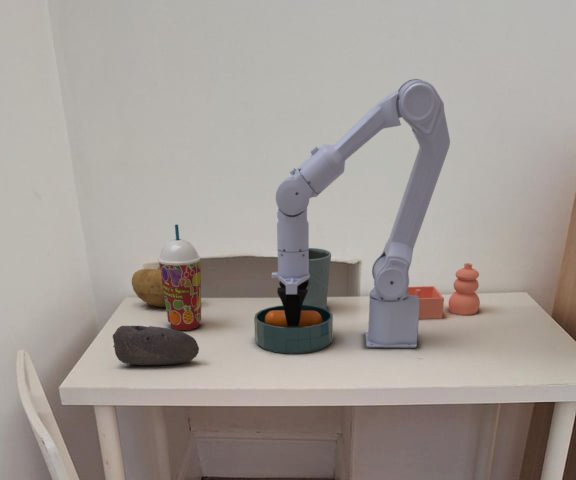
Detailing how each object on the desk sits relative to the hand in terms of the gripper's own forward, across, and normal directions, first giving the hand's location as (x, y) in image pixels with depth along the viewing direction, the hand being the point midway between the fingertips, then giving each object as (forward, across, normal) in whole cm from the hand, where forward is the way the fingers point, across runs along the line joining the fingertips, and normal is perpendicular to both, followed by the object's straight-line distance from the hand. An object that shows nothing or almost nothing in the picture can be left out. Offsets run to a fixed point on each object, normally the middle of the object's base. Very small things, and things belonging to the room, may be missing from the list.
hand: (293, 322), depth 144 cm
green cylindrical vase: (+4, -21, +2) cm, 21 cm away
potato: (+4, -24, -30) cm, 39 cm away
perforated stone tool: (+4, +13, -24) cm, 28 cm away
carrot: (+1, 0, 0) cm, 1 cm away
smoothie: (+4, -9, -23) cm, 25 cm away
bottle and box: (+4, -20, +30) cm, 36 cm away
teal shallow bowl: (+4, 0, 0) cm, 4 cm away
